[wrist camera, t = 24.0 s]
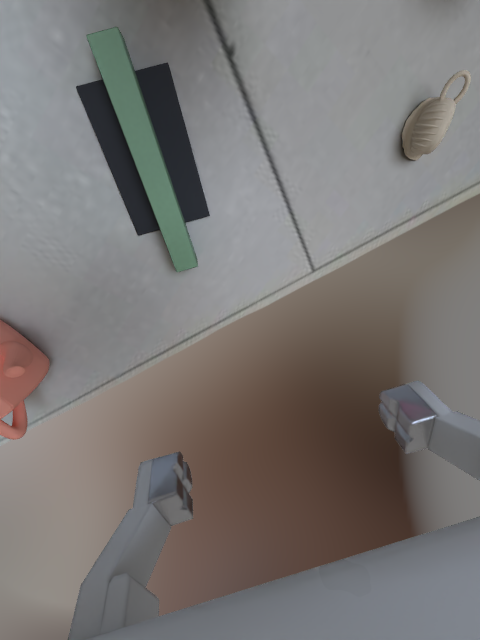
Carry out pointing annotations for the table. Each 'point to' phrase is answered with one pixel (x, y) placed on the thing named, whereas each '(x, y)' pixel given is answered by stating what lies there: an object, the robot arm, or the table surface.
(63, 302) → the table surface
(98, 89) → the mat
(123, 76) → the rod
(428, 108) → the decorative ornament
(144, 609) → the robot arm
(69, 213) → the table surface
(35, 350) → the teapot
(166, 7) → the table surface
